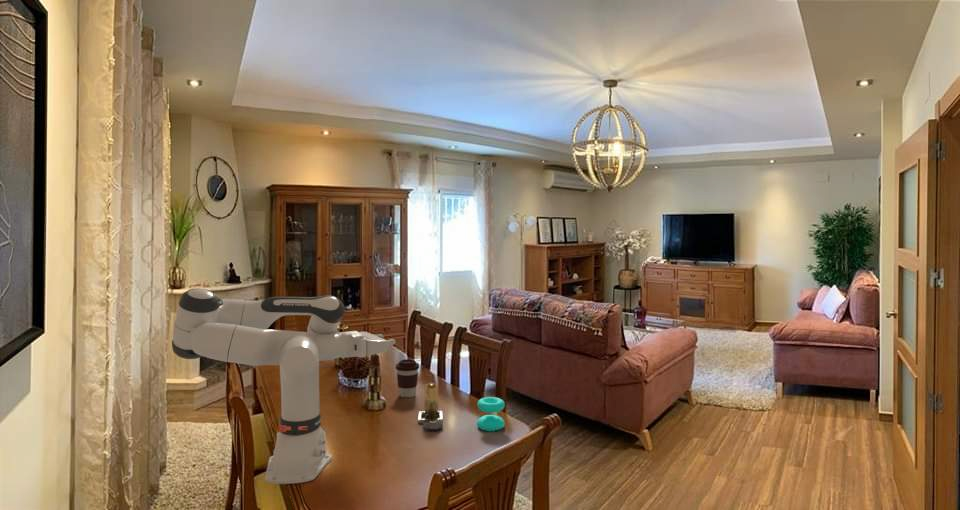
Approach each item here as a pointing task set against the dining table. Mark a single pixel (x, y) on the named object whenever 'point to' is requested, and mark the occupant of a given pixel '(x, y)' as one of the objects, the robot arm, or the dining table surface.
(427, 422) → the carrier
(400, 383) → the coffee cup
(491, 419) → the donuts
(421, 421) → the ring seat
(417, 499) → the dining table surface
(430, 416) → the tan bottle
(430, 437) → the dining table surface
